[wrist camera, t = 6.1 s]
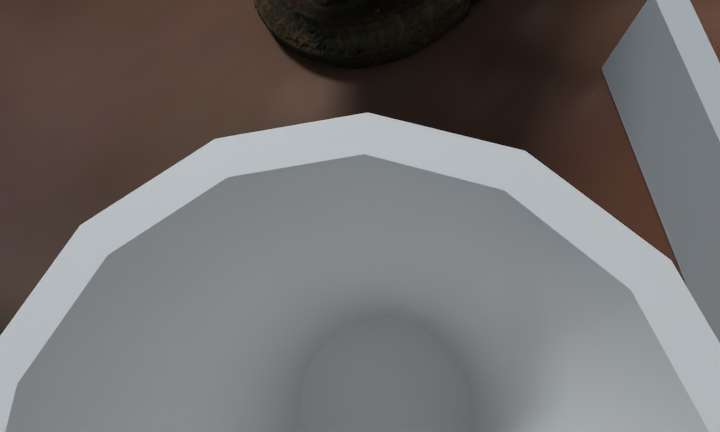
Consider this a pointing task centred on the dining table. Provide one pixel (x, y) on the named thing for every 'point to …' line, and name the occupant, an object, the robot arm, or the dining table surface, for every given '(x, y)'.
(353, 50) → the owl figurine
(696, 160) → the acrylic wall
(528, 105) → the dining table surface
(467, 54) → the dining table surface
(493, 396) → the foam cup
